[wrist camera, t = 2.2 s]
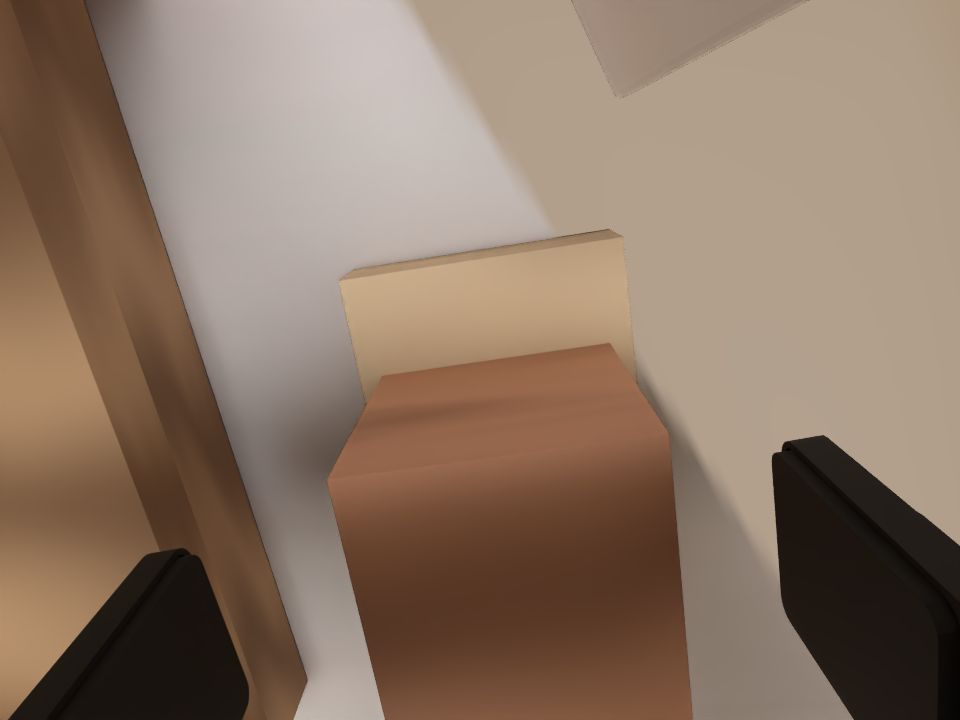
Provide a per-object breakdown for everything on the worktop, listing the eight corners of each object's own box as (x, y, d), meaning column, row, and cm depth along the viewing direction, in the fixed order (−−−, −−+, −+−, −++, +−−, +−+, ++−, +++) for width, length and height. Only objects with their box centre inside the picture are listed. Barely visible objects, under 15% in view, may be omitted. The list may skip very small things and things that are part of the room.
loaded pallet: (645, 595, 18) (731, 840, 11) (429, 621, 18) (395, 872, 12) (608, 229, 15) (694, 276, 9) (355, 268, 16) (256, 341, 9)
